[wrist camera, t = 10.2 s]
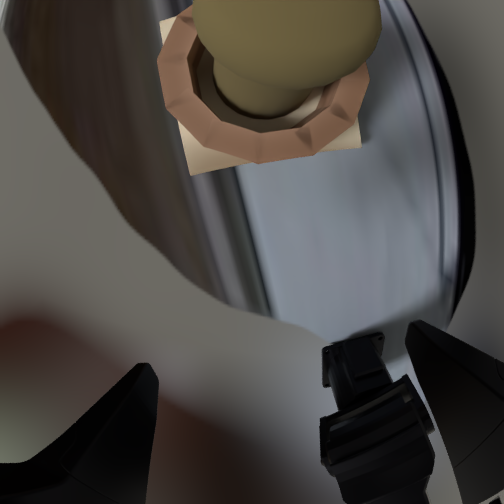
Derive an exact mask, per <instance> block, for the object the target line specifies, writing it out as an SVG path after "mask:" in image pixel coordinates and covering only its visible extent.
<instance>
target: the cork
mask: <svg viewBox="0 0 504 504" xmlns="http://www.w3.org/2000/svg"><path fill="white" fill-rule="evenodd" d="M191 15H192V18H193V21H194V24H195V27H196V31H197V34H198V37H199V39H200V40H201V42H202V44H203V45H204V46H205V47H206V48H207V50H208V51H209V52H210V53H211V55H212V56H213V57H214V64H213V82H214V86H215V89H216V92H217V94H218V95H219V97H220V98H221V99H222V101H223V102H224V103H225V105H227V106H228V107H229V108H231V109H232V110H234V111H235V112H236V113H238V114H240V115H243V116H246V117H249V118H252V119H264V120H271V119H275V118H279V117H284V116H286V115H288V114H289V113H291V112H293V111H295V110H297V109H298V108H299V107H300V106H301V105H302V103H303V102H304V101H305V100H306V99H307V98H308V96H309V95H310V93H311V92H312V90H313V88H314V87H319V86H325V85H328V84H330V83H332V82H334V81H336V80H338V79H340V78H342V77H345V76H347V75H349V74H351V73H353V72H355V71H356V70H357V69H358V68H359V67H360V66H361V65H362V64H363V63H364V62H365V61H366V60H367V59H368V58H369V57H370V56H371V54H372V52H373V51H374V49H375V47H376V44H377V42H378V39H379V36H380V33H381V30H382V24H381V12H380V5H379V1H378V0H193V6H192V14H191Z"/></svg>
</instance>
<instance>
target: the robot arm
mask: <svg viewBox="0 0 504 504" xmlns="http://www.w3.org/2000/svg"><path fill="white" fill-rule="evenodd" d="M384 339H385V336H384V334H383V333H382V332H379V333H376V334H372V335H369V336H365V337H361V338H358V339H354V340H350V341H346V342H342V343H338V344H334V345H330V346H326V347H324V348H323V349H322V385H323V387H324V388H327V387H331V388H332V391H333V394H334V398H335V401H336V404H337V408H338V412H336V413H333V414H331V415H329V416H324V417H322V418H320V426H319V428H320V451H321V452H320V453H321V454H320V456H321V464H322V465H323V466H325V467H326V469H327V471H328V472H329V473H330V475H331V476H333V477H336V479H337V482H338V484H339V488H340V491H341V494H342V498H343V501H345V503H347V504H431V501H430V498H429V495H428V492H427V489H426V488H427V484H428V481H429V478H430V475H431V474H432V471H433V467H434V459H435V452H434V450H433V447H432V445H431V442H430V440H429V438H428V435H429V434H431V433H432V432H434V431H435V428H434V425H433V423H432V420H431V418H430V416H429V413H428V411H427V409H426V407H425V405H424V403H423V401H422V399H421V397H420V396H419V394H418V392H417V390H416V389H415V387H414V385H413V383H412V382H411V380H410V378H409V377H408V375H407V374H405V375H404V376H402V378H400V379H399V380H397V381H395V382H393V380H392V378H391V376H390V374H389V372H388V370H387V368H386V366H385V364H384V362H383V360H382V358H381V355H382V350H383V345H384ZM405 345H406V348H407V351H408V354H409V356H410V359H411V362H412V365H413V368H414V371H415V374H416V377H417V379H418V382H419V384H420V386H421V388H422V391H423V393H424V395H425V397H426V400H427V402H428V404H429V407H430V409H431V411H432V414H433V416H434V419H435V421H436V423H437V426H438V429H439V431H440V434H441V436H442V439H443V442H444V444H445V447H446V450H447V453H448V456H449V459H450V461H451V464H452V467H453V471H454V474H455V477H456V481H457V484H458V488H459V491H460V495H461V499H462V503H463V504H479V503H481V502H483V501H485V500H487V499H488V498H490V497H492V496H494V495H495V494H497V493H498V494H499V496H497V497H496V498H495V499H494V500H492V501H491V502H490V503H489V504H504V363H503V362H501V361H499V360H497V359H494V357H492V356H490V355H488V354H486V353H484V352H482V351H480V350H479V349H477V348H475V347H473V346H471V345H469V344H467V343H465V342H463V341H461V340H459V339H457V338H455V337H453V336H452V335H450V334H448V333H446V332H444V331H442V330H440V329H438V328H436V327H434V326H432V325H430V324H428V323H426V322H424V321H422V320H415V321H412V322H410V323H409V325H408V329H407V333H406V337H405ZM158 390H159V380H158V377H157V376H156V374H155V372H154V370H153V369H152V367H151V365H150V364H149V363H138V364H136V365H135V366H134V367H133V368H132V369H131V370H130V371H129V372H128V373H127V374H126V375H125V376H124V377H122V378H121V379H120V380H119V381H118V382H117V383H116V384H115V385H114V386H113V387H112V388H111V389H110V390H109V391H108V392H107V393H106V394H104V395H103V396H102V397H101V398H100V399H99V400H98V401H97V402H96V403H95V404H94V405H93V406H92V407H91V408H90V409H89V410H88V411H87V412H85V414H83V415H82V416H81V417H80V418H79V419H78V420H77V421H76V423H74V424H73V425H72V426H71V427H70V428H69V429H67V430H66V431H65V432H64V433H63V434H62V435H61V436H60V437H58V438H57V439H56V440H55V441H53V442H52V443H51V444H50V445H48V446H47V447H46V448H44V449H43V450H42V451H40V452H39V453H38V454H36V455H35V456H34V457H32V458H31V459H29V460H27V461H24V462H20V463H0V504H145V502H146V493H147V484H148V475H149V466H150V459H151V453H152V446H153V439H154V433H155V427H156V420H157V404H158Z"/></svg>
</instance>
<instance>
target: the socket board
mask: <svg viewBox="0 0 504 504" xmlns="http://www.w3.org/2000/svg"><path fill="white" fill-rule="evenodd" d="M192 6H193V5H191V6H190V7H188V8H187V9H186V10H184V11H183V12H181V13H180V14H179V15H177V17H173V18H170V19H167V20H163V21H160V29H161V35H162V41H163V47H162V49H161V52H160V54H159V56H158V59H157V63H158V69H159V74H160V80H161V85H162V90H163V95H164V100H165V105H166V109H167V110H168V111H169V112H170V113H171V114H172V115H173V116H174V117H175V118H176V119H177V120H178V124H179V128H180V133H181V137H182V142H183V146H184V151H185V155H186V159H187V164H188V168H189V172H190V176H191V175H196V174H200V173H204V172H208V171H213V170H217V169H222V168H227V167H232V166H237V165H242V164H247V163H252V162H254V163H257V164H261V163H267V162H273V161H279V160H285V159H291V158H298V157H305V156H313V155H315V154H316V153H317V152H324V151H333V150H342V149H352V148H362V146H361V137H360V130H359V123H358V116H357V115H358V112H359V109H360V107H361V104H362V101H363V98H364V95H365V93H366V90H367V87H368V84H369V81H370V78H369V74H368V69H367V65H366V61H365V62H364V63H363V64H362V65H361V66H360V67H359V68H358V69H357V70H356V71H355V72H353V73H351V74H349V75H347V76H345V77H342V78H340V79H338V80H336V81H334V82H332V83H330V84H328V85H325V86H319V87H314V88H313V90H312V92H311V93H310V95H309V96H308V98H307V99H306V100H305V101H304V102H303V103H302V105H301V106H300V107H299V108H298V109H297V110H295V111H293V112H291V113H289V114H288V115H286V116H284V117H279V118H275V119H271V120H264V119H252V118H249V117H246V116H243V115H240V114H238V113H236V112H235V111H234V110H232V109H231V108H229V107H228V106H227V105H225V103H224V102H223V101H222V99H221V98H220V97H219V95H218V94H217V92H216V89H215V86H214V82H213V64H214V57H213V56H212V55H211V53H210V52H209V51H208V50H207V48H206V47H205V46H204V45H203V44H202V42H201V40H200V39H199V37H198V34H197V31H196V27H195V24H194V21H193V18H192V15H191V14H192Z"/></svg>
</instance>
